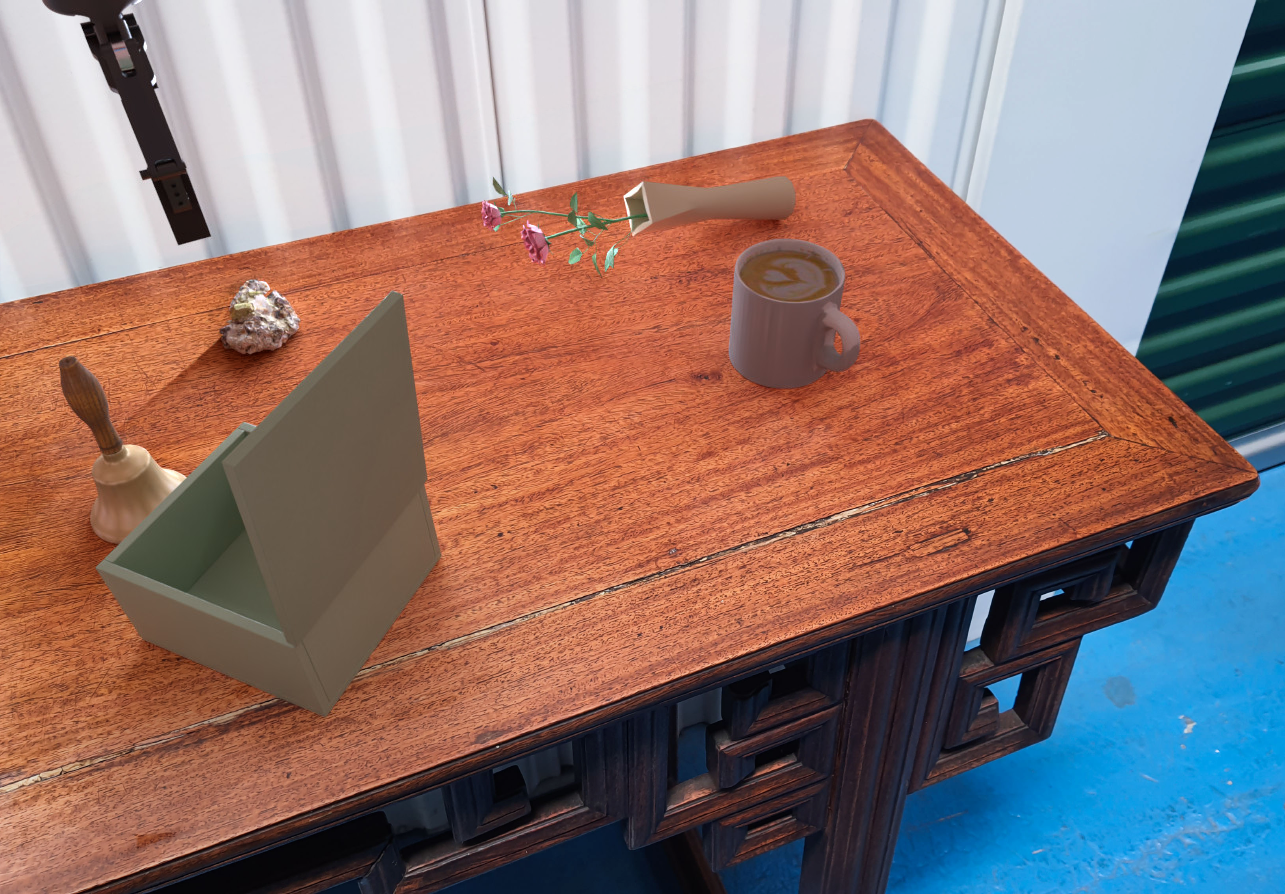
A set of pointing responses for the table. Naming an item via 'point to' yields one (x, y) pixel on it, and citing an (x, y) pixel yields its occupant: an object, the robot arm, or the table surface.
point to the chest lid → (332, 468)
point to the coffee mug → (789, 314)
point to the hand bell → (114, 461)
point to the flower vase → (659, 211)
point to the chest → (258, 591)
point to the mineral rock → (258, 319)
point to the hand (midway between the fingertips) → (178, 200)
